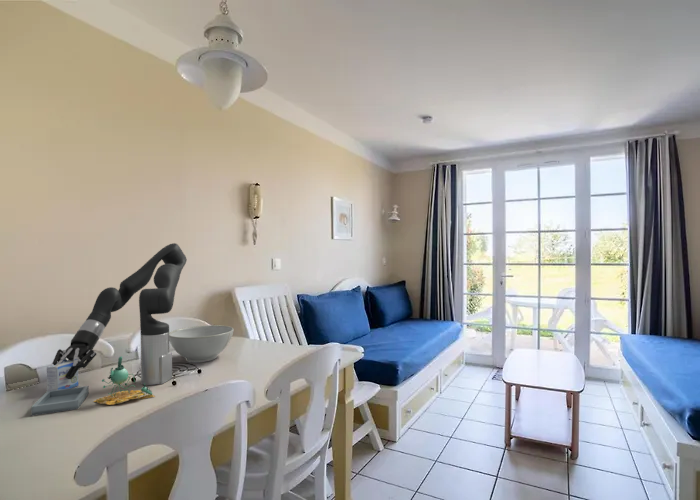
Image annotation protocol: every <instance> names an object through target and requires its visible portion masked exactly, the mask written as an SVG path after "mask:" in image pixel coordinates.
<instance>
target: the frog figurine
mask: <svg viewBox="0 0 700 500" xmlns="http://www.w3.org/2000/svg"><path fill="white" fill-rule="evenodd" d="M122 361H123V356H119V357H118V361H117V367H115V369H114V367H111V368H110V371H109V376H107V379H109V380H110V381H109V382H107V381H106V380H105V379H104V378H103V379H102V380H101V382H102V383H103V382H104V383H105V384H109V385H106V386H105V385H103V386H102V388H103V389H105V388H106V387H110V386H113V388H112V391H111V392H110V393H109V392H108V395H107V396H106V395H105V396H103V397H100V398H97V399H95V400H94V401H92V402H93V403H97V404H99V405H106V406H107V405H108V406H109V405H110V406H111V405H117V404H123V403H124V402H128V401H130V400H134V399H139V400H143V399H151V398H155V397H156V396H155V395H154V394H153V391H152V389H150V388H149V387H148V386H147V385H145V383H144V384H143V386H142V387H141V389H140V390H138V389H137V390H135V389H134V390H133V389H132V390H129V389H128V388H131V387H132V386H133V387H134V388H136V386H135V385H134V384H131V385H129V386H128V383H129V381H130V379H131V377H130V376H129V375H131V376H132V377H133V381H132V382H133V383H136V380H135V376H134V374H132V373H129V372H128V370H127V369H126V368H125V366H124V365H123V364H122ZM110 383H112V384H110ZM123 383H124V386H127V387H124V386H123V385H122V384H123ZM146 386H147V387H146ZM115 387H116V388H115ZM114 388H115V392H114V393H113V391H114ZM118 388H119V389H118ZM121 388H123V389H124V390H121ZM117 389H118V390H119V391H118V392H117Z"/></svg>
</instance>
